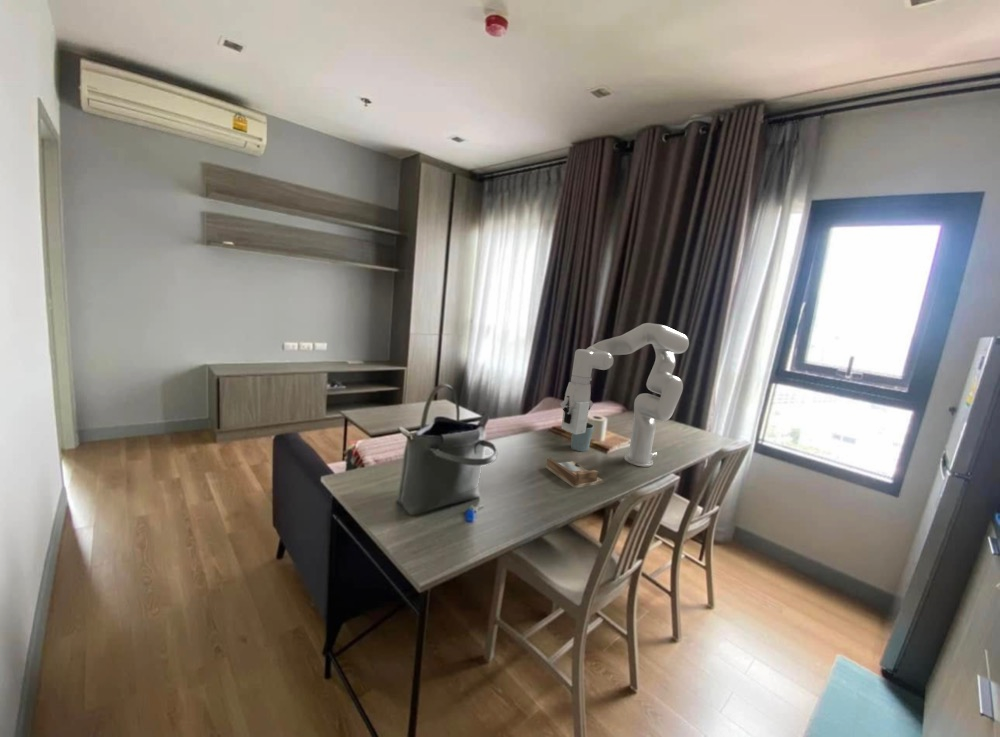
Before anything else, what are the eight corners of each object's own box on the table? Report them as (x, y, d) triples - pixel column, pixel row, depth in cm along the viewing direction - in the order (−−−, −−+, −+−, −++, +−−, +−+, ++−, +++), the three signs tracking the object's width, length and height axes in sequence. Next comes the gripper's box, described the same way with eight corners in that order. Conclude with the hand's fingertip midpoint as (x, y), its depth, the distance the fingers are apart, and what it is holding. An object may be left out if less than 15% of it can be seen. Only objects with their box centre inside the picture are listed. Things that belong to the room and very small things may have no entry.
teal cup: (578, 443, 205) (581, 420, 203) (594, 450, 197) (598, 426, 195) (564, 446, 198) (568, 422, 196) (581, 453, 191) (584, 429, 189)
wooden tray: (572, 463, 178) (574, 452, 177) (602, 483, 161) (604, 470, 161) (545, 467, 171) (547, 455, 170) (574, 488, 155) (576, 475, 154)
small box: (585, 433, 168) (590, 402, 166) (575, 434, 164) (580, 403, 162) (570, 426, 175) (575, 397, 172) (560, 428, 171) (564, 398, 168)
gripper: (591, 378, 173) (585, 418, 176) (557, 377, 165) (551, 420, 168) (603, 382, 167) (596, 424, 170) (569, 382, 159) (562, 426, 161)
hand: (574, 422), depth 169 cm, fingers closed on small box, 7 cm apart
